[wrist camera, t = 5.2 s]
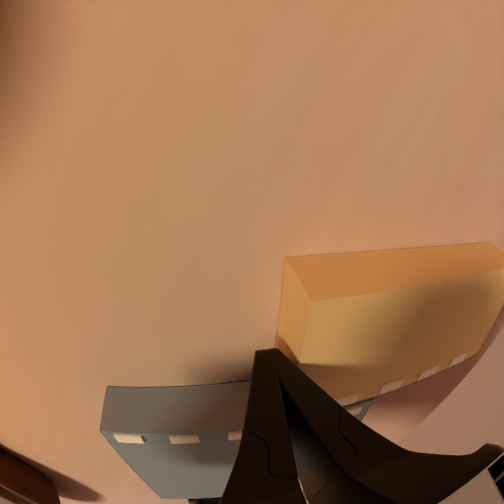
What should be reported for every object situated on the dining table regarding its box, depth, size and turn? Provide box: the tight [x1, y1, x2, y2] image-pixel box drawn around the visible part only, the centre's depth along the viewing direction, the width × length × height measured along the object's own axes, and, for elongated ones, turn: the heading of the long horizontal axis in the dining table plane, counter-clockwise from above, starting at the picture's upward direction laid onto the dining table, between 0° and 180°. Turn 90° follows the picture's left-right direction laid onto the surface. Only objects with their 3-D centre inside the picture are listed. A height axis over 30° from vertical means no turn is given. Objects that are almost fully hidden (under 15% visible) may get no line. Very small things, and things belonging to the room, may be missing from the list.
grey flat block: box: [100, 381, 374, 499], centre depth 14 cm, size 12×12×3 cm
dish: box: [0, 450, 61, 504], centre depth 14 cm, size 17×22×5 cm
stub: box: [276, 242, 504, 406], centre depth 11 cm, size 6×12×3 cm, turn 89°
